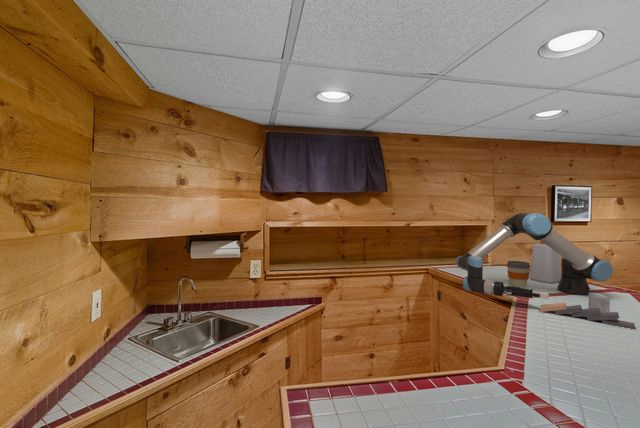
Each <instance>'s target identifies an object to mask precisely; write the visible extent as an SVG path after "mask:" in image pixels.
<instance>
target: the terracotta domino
mask: <svg viewBox="0 0 640 428" xmlns="http://www.w3.org/2000/svg"><path fill="white" fill-rule="evenodd" d="M567 306H568V305H567V304H566V302H555V303H548V304H540V306H539V309H540V312H541V313H543V312H551V311H552V312H553V311H554V310H563V309H566V307H567ZM554 312H555V311H554Z"/></svg>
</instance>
